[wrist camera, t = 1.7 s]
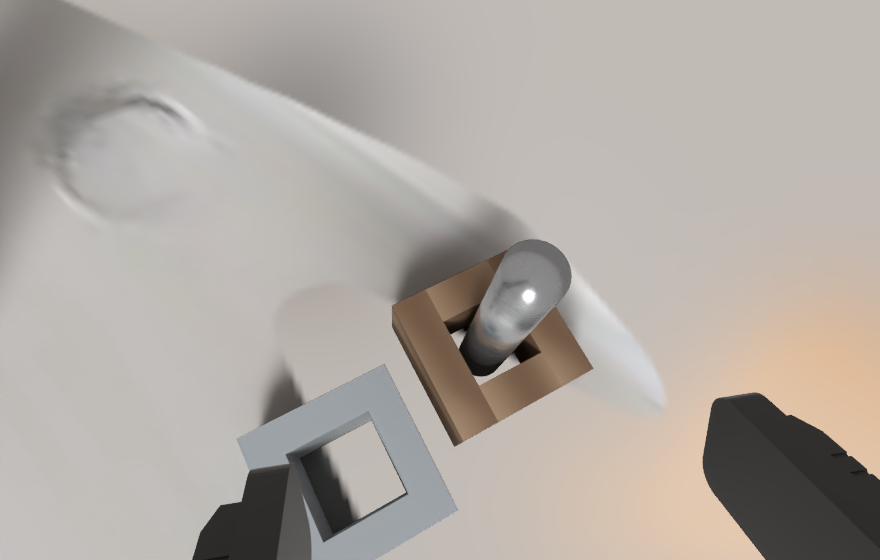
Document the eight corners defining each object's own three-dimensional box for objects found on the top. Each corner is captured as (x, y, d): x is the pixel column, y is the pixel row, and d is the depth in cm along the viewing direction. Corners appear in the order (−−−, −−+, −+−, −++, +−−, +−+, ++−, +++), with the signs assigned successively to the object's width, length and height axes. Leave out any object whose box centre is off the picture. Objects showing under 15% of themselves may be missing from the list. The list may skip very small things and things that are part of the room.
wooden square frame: (454, 446, 36) (463, 441, 31) (392, 327, 38) (392, 305, 34) (568, 382, 38) (593, 368, 33) (502, 272, 40) (517, 245, 36)
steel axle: (471, 384, 37) (524, 318, 22) (450, 345, 38) (487, 257, 23) (509, 364, 38) (585, 287, 23) (487, 326, 39) (547, 228, 24)
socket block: (316, 584, 33) (303, 602, 28) (257, 444, 35) (236, 438, 30) (449, 506, 35) (458, 510, 30) (385, 378, 37) (384, 363, 32)
